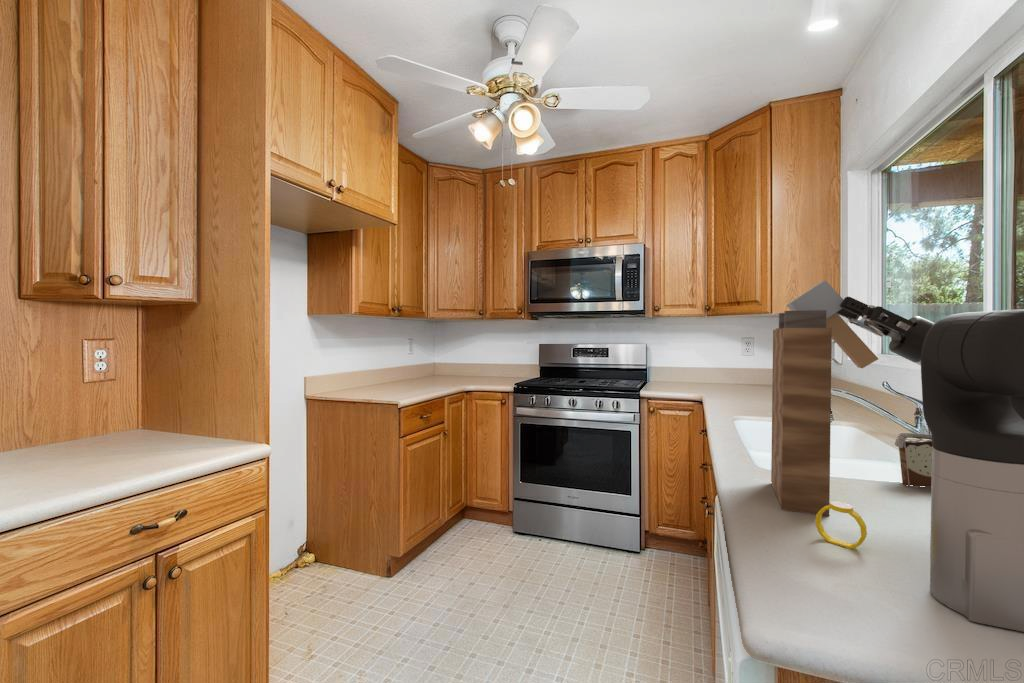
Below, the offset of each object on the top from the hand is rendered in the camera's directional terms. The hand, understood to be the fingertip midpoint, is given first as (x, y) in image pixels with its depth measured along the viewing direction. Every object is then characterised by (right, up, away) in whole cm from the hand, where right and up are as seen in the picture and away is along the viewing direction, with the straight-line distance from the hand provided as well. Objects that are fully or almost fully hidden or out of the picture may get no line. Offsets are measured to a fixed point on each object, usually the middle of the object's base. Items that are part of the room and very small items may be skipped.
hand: (837, 302), depth 87 cm
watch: (-15, -37, -21) cm, 45 cm away
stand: (-9, -37, -1) cm, 38 cm away
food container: (+24, -38, +8) cm, 45 cm away
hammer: (-3, -7, +1) cm, 7 cm away
